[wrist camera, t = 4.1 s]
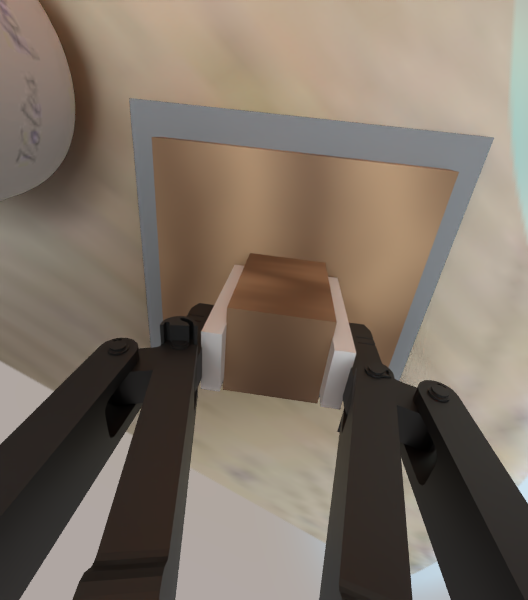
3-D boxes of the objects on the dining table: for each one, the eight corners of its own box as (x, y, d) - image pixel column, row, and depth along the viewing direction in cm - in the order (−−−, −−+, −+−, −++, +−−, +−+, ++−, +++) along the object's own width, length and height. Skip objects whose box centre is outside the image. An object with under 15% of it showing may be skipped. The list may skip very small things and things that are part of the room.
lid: (172, 359, 22) (121, 448, 16) (161, 136, 16) (68, 139, 9) (372, 388, 22) (402, 493, 15) (448, 169, 15) (553, 195, 9)
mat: (156, 367, 24) (153, 372, 23) (134, 99, 16) (129, 97, 15) (386, 401, 23) (388, 407, 22) (487, 137, 15) (494, 137, 14)
